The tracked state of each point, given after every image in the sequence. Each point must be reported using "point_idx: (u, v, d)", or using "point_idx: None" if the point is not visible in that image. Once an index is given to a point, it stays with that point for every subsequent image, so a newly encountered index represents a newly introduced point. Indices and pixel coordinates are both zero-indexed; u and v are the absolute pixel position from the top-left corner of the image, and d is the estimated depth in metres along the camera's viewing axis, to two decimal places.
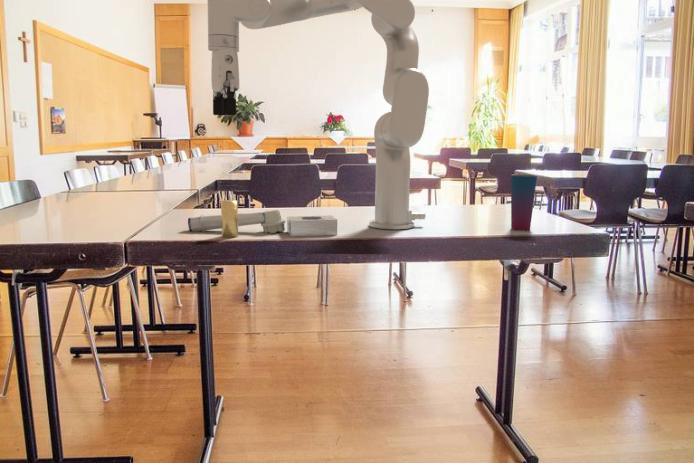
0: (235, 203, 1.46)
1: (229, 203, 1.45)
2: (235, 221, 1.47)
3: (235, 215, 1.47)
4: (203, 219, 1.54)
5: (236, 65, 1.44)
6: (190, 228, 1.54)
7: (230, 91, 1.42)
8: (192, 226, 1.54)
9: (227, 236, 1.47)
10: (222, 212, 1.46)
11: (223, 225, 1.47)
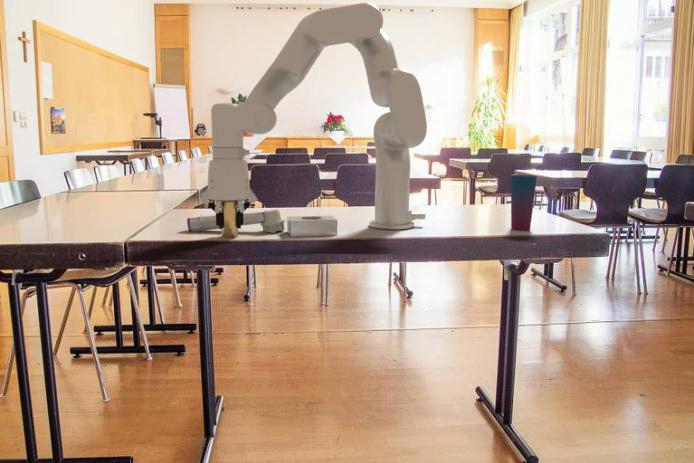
0: (235, 203, 1.46)
1: (229, 203, 1.45)
2: (235, 221, 1.47)
3: (235, 215, 1.47)
4: (202, 219, 1.54)
5: None
6: (189, 228, 1.54)
7: None
8: (191, 226, 1.54)
9: (227, 236, 1.47)
10: (222, 212, 1.46)
11: (223, 225, 1.47)
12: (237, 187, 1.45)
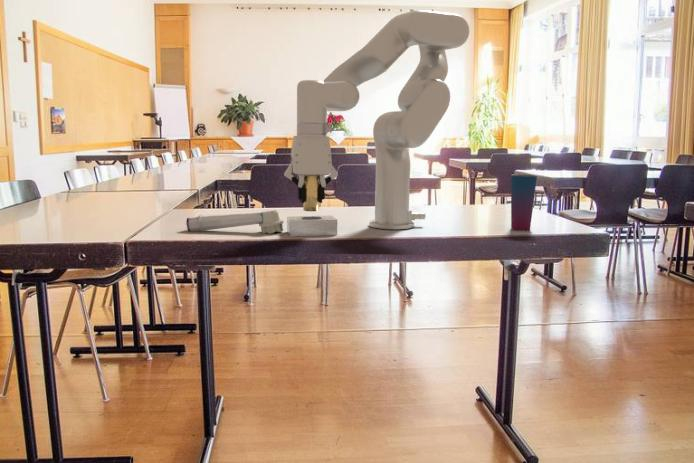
0: (317, 177, 1.51)
1: (312, 177, 1.50)
2: (317, 195, 1.51)
3: (317, 189, 1.51)
4: (201, 219, 1.54)
5: None
6: (188, 228, 1.54)
7: None
8: (190, 226, 1.54)
9: (309, 209, 1.51)
10: (305, 186, 1.50)
11: (305, 199, 1.51)
12: (320, 162, 1.49)
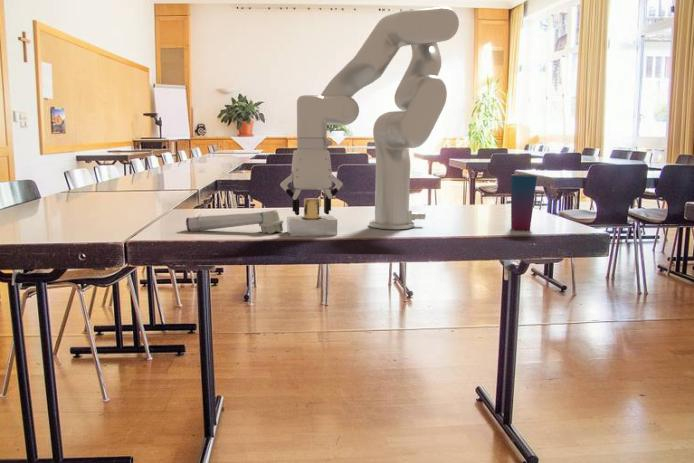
0: (318, 201, 1.52)
1: (312, 201, 1.51)
2: (317, 219, 1.52)
3: (317, 213, 1.52)
4: (201, 219, 1.54)
5: None
6: (188, 228, 1.54)
7: None
8: (190, 226, 1.54)
9: None
10: (305, 210, 1.52)
11: None
12: (321, 176, 1.50)
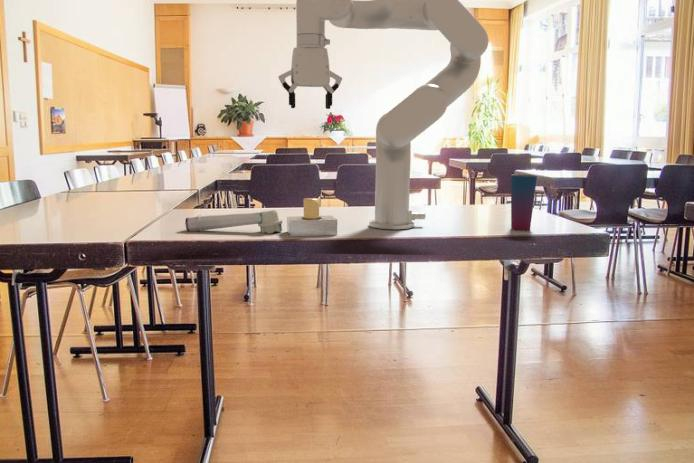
0: (317, 201, 1.52)
1: (312, 201, 1.51)
2: (317, 218, 1.52)
3: (317, 212, 1.52)
4: (200, 219, 1.54)
5: None
6: (187, 228, 1.54)
7: None
8: (189, 226, 1.54)
9: None
10: (305, 210, 1.52)
11: None
12: (319, 72, 1.57)
